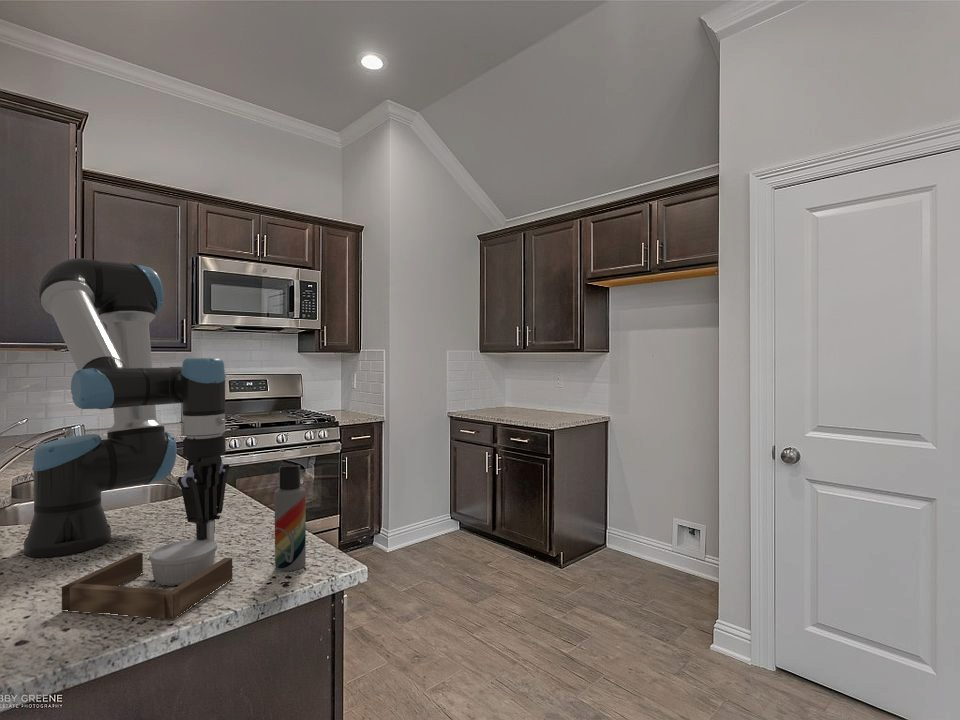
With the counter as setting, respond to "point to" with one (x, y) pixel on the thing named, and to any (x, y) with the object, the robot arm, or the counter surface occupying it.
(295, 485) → the lotion bottle
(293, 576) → the counter surface
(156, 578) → the ramekin
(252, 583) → the counter surface
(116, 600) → the walnut box
